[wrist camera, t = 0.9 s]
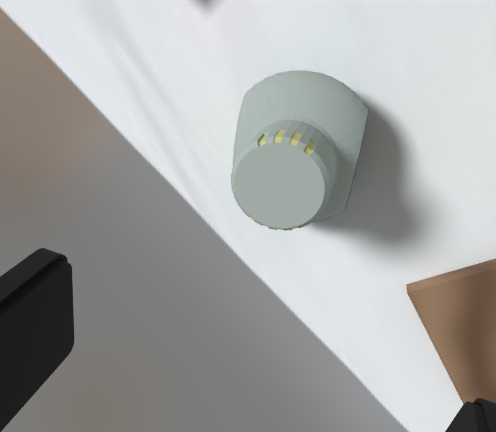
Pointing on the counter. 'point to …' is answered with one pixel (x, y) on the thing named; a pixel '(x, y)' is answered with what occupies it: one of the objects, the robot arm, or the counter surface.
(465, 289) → the wooden board
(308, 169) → the air freshener
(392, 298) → the counter surface
